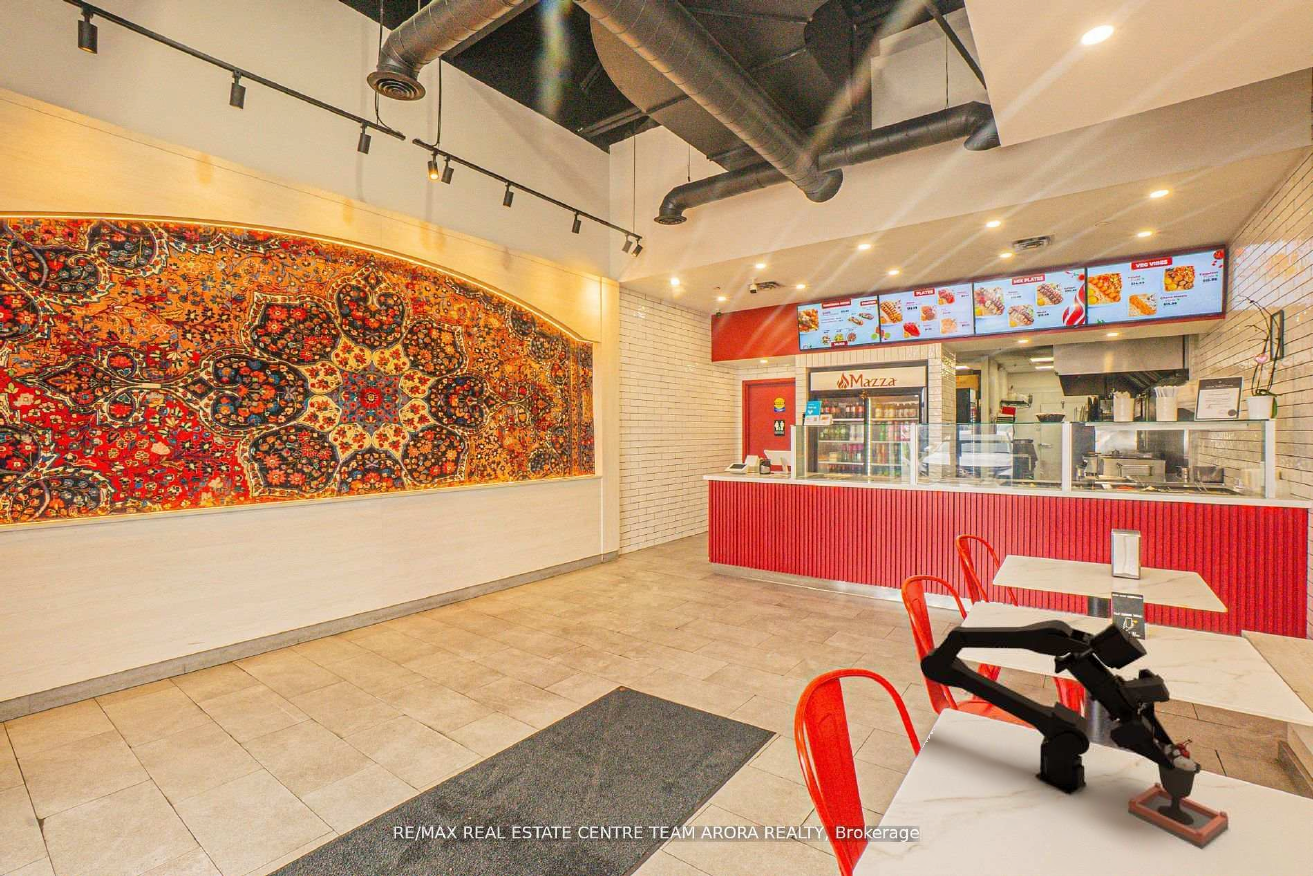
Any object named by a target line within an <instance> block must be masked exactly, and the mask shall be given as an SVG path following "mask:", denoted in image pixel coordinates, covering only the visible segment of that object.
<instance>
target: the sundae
mask: <svg viewBox="0 0 1313 876" xmlns="http://www.w3.org/2000/svg"><path fill="white" fill-rule="evenodd" d="M1156 742H1157V743H1158V744H1159V745H1160V747H1161V748H1162V749H1163V751H1164V752H1165V753H1166V755H1167V756H1168V757H1169V759H1170V760H1171V761H1172V763H1173V764H1174V766H1175V769H1173V770H1168V769H1166V768H1164V767H1162V766H1160V765H1159V764H1157V767H1158V773H1159V780H1160V782H1161V783H1160V784H1161V787H1162V788H1164V790H1165V791H1166V792H1167V793H1168V794H1169V795H1171V797H1172V802H1171V806H1159V807H1158V812H1159V813H1160V814H1161V815H1164V816H1166V817H1168V818H1170V819H1172V820H1174V821H1176V822H1178V823H1180V824H1192V823H1193V822H1194V820H1193V818H1192V817H1191V816H1190V815H1189V814H1188V813H1186V812H1184V811H1182V810H1181V809H1180V799H1182V798H1188V797H1189V796H1190V795H1191V793H1192V790H1193V785H1194V781H1195V776H1196V775H1197V774H1199V773H1200V772H1201V771H1202V766H1201V764H1200V763H1198V762H1197V761H1195V760H1194V759H1193V758H1192V757H1191V753H1190V751H1189V750H1188V749H1187V745H1188V744H1191V743H1193V740H1191V739H1190V738H1188V739H1187V740H1185V741H1183V742H1177V743H1176V744H1175V743H1174V744H1170V745H1166V744H1164V743H1162V742H1159V741H1156ZM1186 742H1187V743H1186Z"/></svg>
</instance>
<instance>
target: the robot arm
mask: <svg viewBox="0 0 1313 876" xmlns="http://www.w3.org/2000/svg"><path fill="white" fill-rule="evenodd" d="M963 649H1015V650H1017V649H1021V650H1027V651H1030V652H1033V653H1037V654H1040V655H1046V656H1052V657H1054V659H1053V661H1054V673H1055V674H1061V673H1062V672H1064V671H1065V670H1067V672H1069V673H1070V674H1071V676H1072V677H1073V678H1074V679H1075V680H1076V681H1077V682H1078V683H1079V684H1080V685H1081V686H1082V687H1083V688H1084V689H1085V690H1086V691H1087V692H1088V695H1089V696H1088V698H1089V699H1090V700H1091V701H1092V702H1095V701H1096V702H1097V703H1098V704H1099V705H1100V707H1102V708H1103V710H1105V711H1106V712H1107V716H1106V717H1107V718H1108V719H1109V720H1110V722H1112V723H1111V724H1110V725H1111V726H1110V733H1109V737H1110V740H1111V741H1113V743H1114V744H1115V745H1116V746H1117V747H1118V748H1122V749H1124V750H1129V751H1131V752H1133V753H1136V754H1137V755H1139V756H1142V757H1144V758H1145V759H1147V760H1150V761H1151V762H1152V763H1155V764H1157V765H1158V764H1159V765H1160V766H1162V767H1164V768H1166V769H1168V770H1173V769H1175V766H1174V764H1173V763H1172V761H1171V760H1170V759H1169V757H1168V756H1167V755H1166V753H1165V752H1164V751H1163V749H1162V748H1161V747H1160V745H1159V744H1158V743H1157V742H1158V741H1159V742H1162V743H1164V744H1166V745H1170V744H1175V743H1174V742H1173V740H1172V739H1171V737H1170V735H1169V734H1168V732H1167V731H1166V730H1165V728H1164V726H1163V725H1162V723H1161V722H1160V720H1159V719H1158V717H1157V716H1156V714H1155V705H1156V704H1155V703H1158V702H1159V703H1162V704H1163V703H1166V702H1169V701H1170V700H1171V698H1170V695H1171V694H1170V691H1169V690H1168V688H1167V686H1166V684H1165V681H1164V678H1162V677H1161V676H1160V675H1159V674H1155V673H1153V672H1152V671H1151V670H1150V669H1149V668H1144V669H1138V677H1133V678H1132V679H1129V680H1126V679H1124V678H1123V676H1121V675H1119V674H1117V673H1116V674H1115V675H1114V674H1113V673H1112V671H1110V669H1112V670H1114V668H1115V669H1116V670H1118V671H1119V670H1121V669H1123V668H1125V667H1127V666H1128V665H1131V664H1132V663H1134V662H1135V661H1137V660H1140V659H1141V658H1142V657H1144V656H1147V655H1148V652H1147V651H1146V648H1145V647H1144V646H1143V644H1142V643H1141V642H1140V641H1139V640H1138V639H1137V638H1136V637H1135V636H1134V635H1133V633H1129V632H1128V631H1127V630H1126V629H1125V628H1123V627H1120V626H1119V625H1118V624H1117V623H1116V622H1113V623H1110V624H1109V625H1107V627H1106V628H1105V629H1103V630H1101V631H1100V632H1098V633H1096V634H1095V635H1094V634H1093V633H1090V632H1086V631H1083V630H1080V629H1078V628H1073V627H1072V626H1070V625H1069V624H1068V623H1067V622H1065V621H1063V620H1059V619H1051V620H1045V621H1039V622H1035V623H1031V624H1028V625H1023V626H968V627H967V626H962V625H958V626H957V625H956V626H955V627H954V628H952V629H951V630H950V631H949V632H948V634H947V636H946V638H944V640H943V641H942V643H940V645H939V646H938V647H934V648H932V649H931V650H929V652H927V653H926V655H925V656H924V657H922V659H921V660H920V663H919V666H920V670H921V672H922V674H923V676H924V677H925V678H926V679H927V680H929V681H931V682H934V683H937V684H939V685H942V686H945V687H951V688H955V689H956V688H957V689H961V690H963V691H966V692H968V693H970V694H971V695H973V696H975V697H978V698H979V699H981V700H983V701H985V702H987V703H988V704H990V705H992V706H994V707H996V708H998V709H1000V710H1002V711H1004V712H1006V713H1008V714H1009V715H1012V716H1013V717H1015V718H1017V719H1019V720H1020V721H1023V722H1025V723H1027V724H1029V725H1030V726H1032V727H1034V728H1035V729H1036V730H1037V731H1038V732H1039V733H1040V734H1041V735H1042V736H1043V738H1042V741H1041V744H1040V751H1039V752H1040V757H1039V759H1040V760H1039V762H1040V763H1039V764H1040V765H1039V772H1038V773H1036V774H1035V778H1036V779H1038V780H1040V781H1042V782H1044V783H1045V784H1047V785H1049V786H1052V787H1053V788H1056V789H1057V790H1060V791H1061V792H1063V793H1066V794H1068V795H1071V794H1073V793H1075V792H1077V791H1078V790H1080V789H1081V788H1083V787H1085V786H1087V782H1086V781H1085V768H1086V767H1085V765H1084V764H1083V757H1082V755H1083V754H1086V753H1087V751H1088V750H1089V749H1090V744H1091V740H1092V736H1093V728H1092V726H1091V724H1090V722H1089V720H1087V718H1085V717H1084V716H1083V715H1080V711H1079V710H1074V709H1071V708H1069V707H1067V706H1066V705H1065V704H1063V703H1061V702H1059V701H1055V702H1054V703H1055V704H1054V705H1053V706H1049V705H1043V704H1040V703H1039V702H1037V701H1035V700H1032V698H1031V699H1030V698H1029V697H1026V696H1024V695H1023V694H1020V693H1019V692H1017V691H1015V690H1012V689H1011V688H1009V687H1007V686H1005V685H1003V684H1001V683H999V682H996V681H995V680H993V679H991V678H988V677H987V676H985V675H983V674H981V673H980V672H977V671H975V670H973V669H971V668H970V667H969V666H968V665H967V664H966V663H965V662H964V661H963V660H962V659H961V658H960V657H958V654H959V653H960V652H961V651H962V650H963Z"/></svg>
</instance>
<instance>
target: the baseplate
mask: <svg viewBox="0 0 1313 876" xmlns="http://www.w3.org/2000/svg"><path fill="white" fill-rule="evenodd" d="M1171 802H1172V797H1171V795H1169V794H1168V793H1167V792H1166V791H1165V790H1164V788H1163V787H1162V784H1161V783H1160V782H1156V781H1155V782H1154V785H1153V786H1151V787H1150V788H1147V790H1145V791H1143V792H1142V793H1140V794H1139V795H1137V796H1135V797H1130V798H1129V801H1128V813H1129V814H1131V815H1133V816H1135V817H1137V818H1139V819H1141V820H1143V821H1145V822H1146V823H1149V824H1151V825H1154V826H1155V827H1157V828H1159V829H1160V830H1164V831H1165V832H1167V833H1170V834H1171V835H1173V836H1175V837H1178V838H1180V839H1182V840H1184V841H1186V842H1188V843H1190V844H1192V845H1194V846H1195V847H1198V848H1200V849H1203V848H1204V849H1205V847H1206V846H1207V845H1208V844H1210V843H1211V842H1212V841H1213V840H1215V839H1216V838H1218V836H1220V835H1221V834H1222V833H1224V832H1225V831H1226V830H1228V828H1229V816H1228V813H1227V812H1225V811H1223V810H1220V811H1219V812H1218V811H1216V810H1214V809H1211V808H1209V807H1207V806H1205V805H1203V804H1200V803H1198V802H1196V801H1194V800H1191V799H1189V798H1188V797H1186V798H1182V799H1180V809H1181V810H1182V811H1184V812H1186V813H1188V814H1189V815H1190V816H1191V817H1192V818H1193V820H1194V822H1193V823H1192V824H1180V823H1178V822H1176V821H1174V820H1172V819H1170V818H1168V817H1166V816H1164V815H1161V814H1160V813H1159V812H1158V807H1159V806H1171Z"/></svg>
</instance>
